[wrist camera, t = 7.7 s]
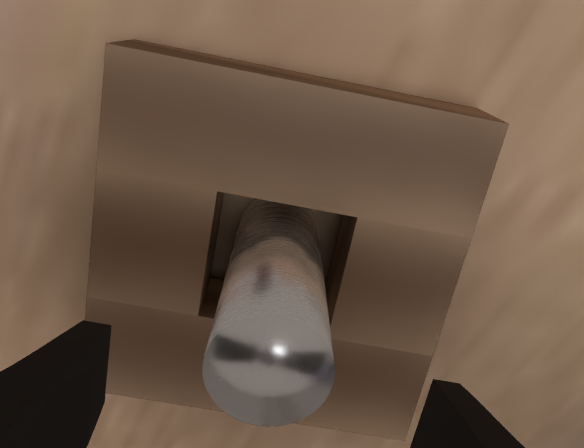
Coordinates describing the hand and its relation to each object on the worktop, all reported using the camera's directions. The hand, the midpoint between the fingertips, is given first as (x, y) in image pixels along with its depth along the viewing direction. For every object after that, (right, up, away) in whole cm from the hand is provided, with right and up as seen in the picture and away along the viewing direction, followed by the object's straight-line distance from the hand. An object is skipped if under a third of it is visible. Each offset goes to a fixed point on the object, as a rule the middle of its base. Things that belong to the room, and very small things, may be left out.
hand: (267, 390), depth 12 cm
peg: (0, +3, +9) cm, 9 cm away
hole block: (0, +3, +9) cm, 9 cm away
